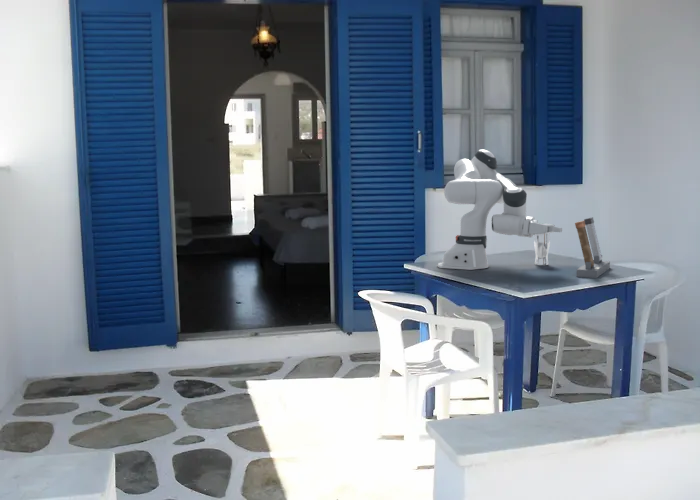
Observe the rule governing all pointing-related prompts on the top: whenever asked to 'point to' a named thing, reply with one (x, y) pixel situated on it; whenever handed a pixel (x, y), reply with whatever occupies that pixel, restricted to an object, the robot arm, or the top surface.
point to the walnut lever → (584, 242)
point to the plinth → (593, 268)
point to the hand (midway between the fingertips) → (561, 230)
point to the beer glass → (541, 248)
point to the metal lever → (593, 237)
